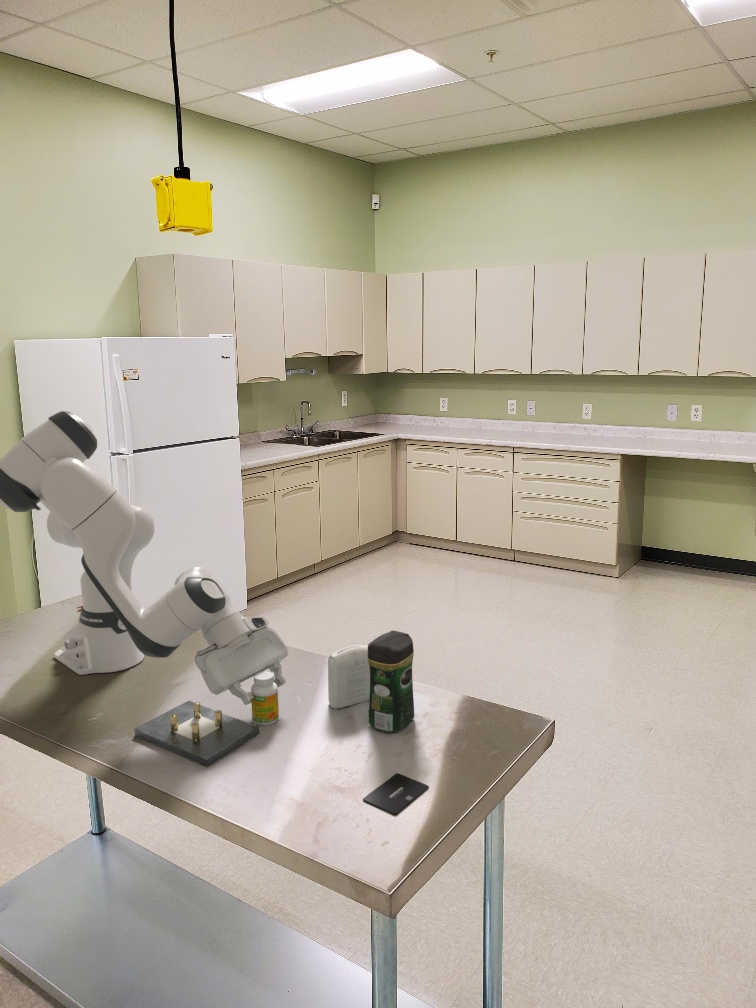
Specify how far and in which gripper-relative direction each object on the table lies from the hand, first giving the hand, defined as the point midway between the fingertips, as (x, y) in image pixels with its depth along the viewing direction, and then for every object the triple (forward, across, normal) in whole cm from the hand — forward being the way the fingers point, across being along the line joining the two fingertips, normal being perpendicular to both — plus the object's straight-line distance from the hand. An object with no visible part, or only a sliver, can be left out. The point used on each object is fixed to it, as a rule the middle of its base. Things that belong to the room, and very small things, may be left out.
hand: (266, 693), depth 155 cm
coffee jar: (+19, +14, -11) cm, 26 cm away
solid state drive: (+30, -6, -21) cm, 37 cm away
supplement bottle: (+4, 0, +5) cm, 6 cm away
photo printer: (+11, +16, -2) cm, 20 cm away
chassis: (-1, -12, +9) cm, 15 cm away
